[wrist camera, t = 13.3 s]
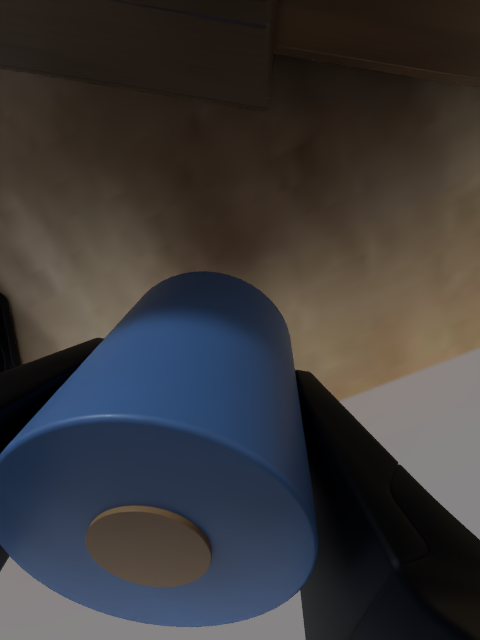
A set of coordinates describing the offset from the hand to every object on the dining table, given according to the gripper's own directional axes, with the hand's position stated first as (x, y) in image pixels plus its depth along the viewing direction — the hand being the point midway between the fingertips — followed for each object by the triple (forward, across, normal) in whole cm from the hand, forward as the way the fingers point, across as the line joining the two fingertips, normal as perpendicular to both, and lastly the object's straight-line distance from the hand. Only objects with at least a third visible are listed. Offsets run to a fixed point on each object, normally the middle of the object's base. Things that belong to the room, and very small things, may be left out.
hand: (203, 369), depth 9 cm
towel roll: (+1, 0, 0) cm, 1 cm away
